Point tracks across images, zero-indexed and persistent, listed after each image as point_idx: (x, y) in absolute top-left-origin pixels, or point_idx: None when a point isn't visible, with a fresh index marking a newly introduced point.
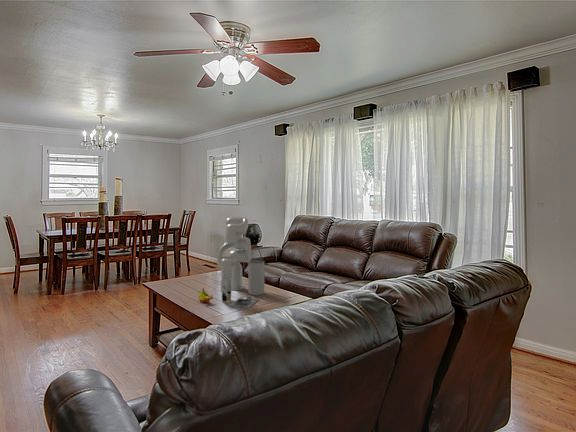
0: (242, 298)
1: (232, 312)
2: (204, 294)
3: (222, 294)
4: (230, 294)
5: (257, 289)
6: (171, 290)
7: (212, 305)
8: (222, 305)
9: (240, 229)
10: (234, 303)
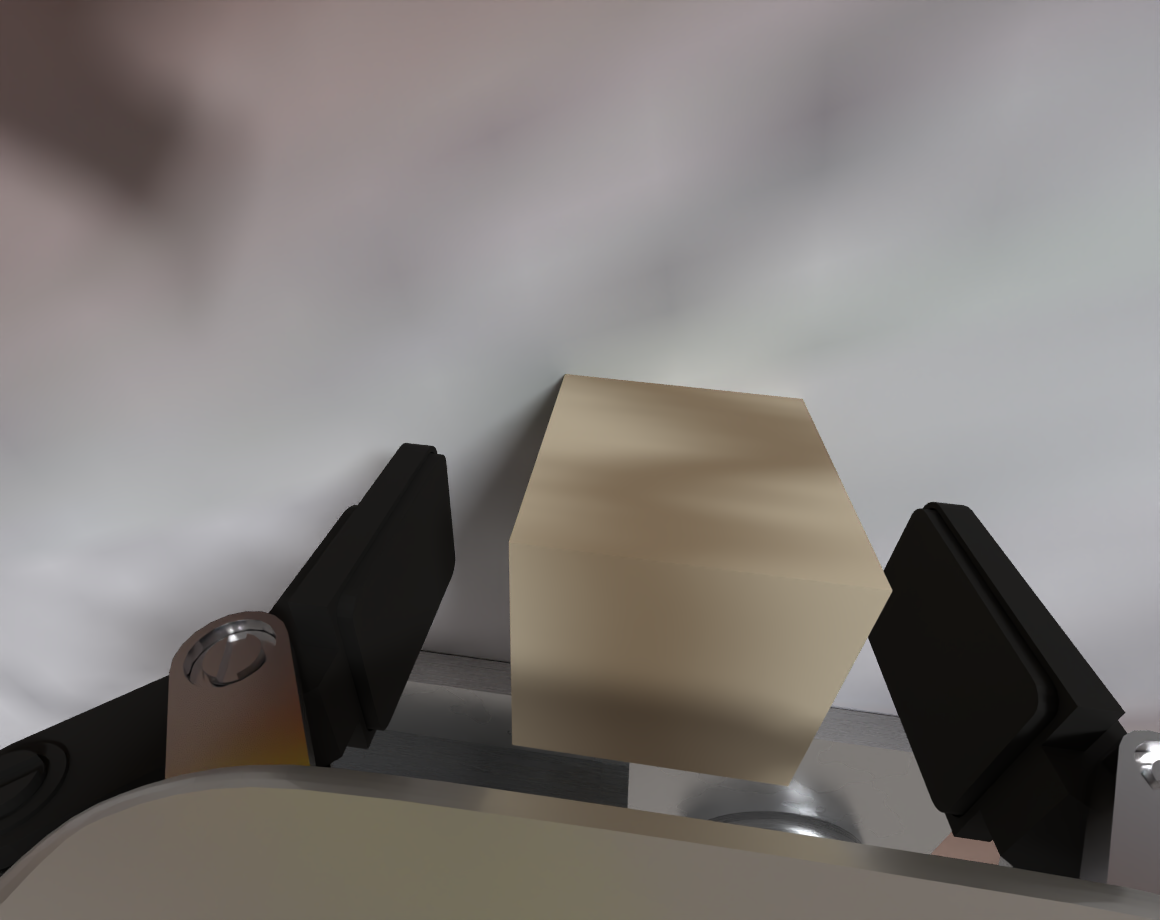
0: (843, 799)
1: (22, 696)
2: None
3: (106, 731)
4: (748, 777)
5: None
6: None
7: (48, 120)
8: (252, 461)
9: None
10: (404, 710)
